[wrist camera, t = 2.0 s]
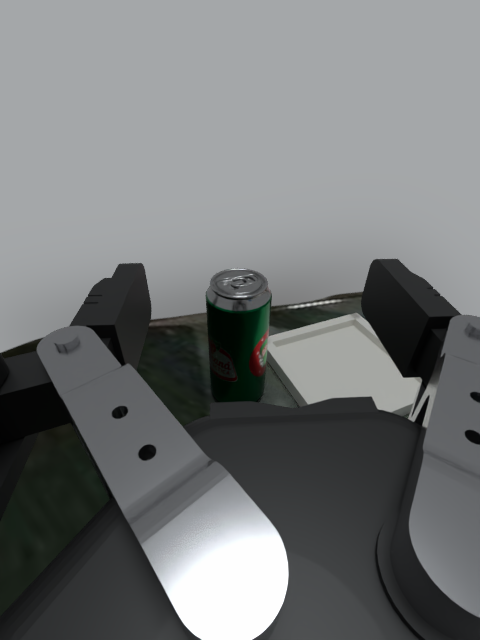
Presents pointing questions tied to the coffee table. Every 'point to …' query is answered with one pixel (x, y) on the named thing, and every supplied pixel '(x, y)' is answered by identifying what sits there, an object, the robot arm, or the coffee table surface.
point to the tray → (340, 365)
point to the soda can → (238, 334)
